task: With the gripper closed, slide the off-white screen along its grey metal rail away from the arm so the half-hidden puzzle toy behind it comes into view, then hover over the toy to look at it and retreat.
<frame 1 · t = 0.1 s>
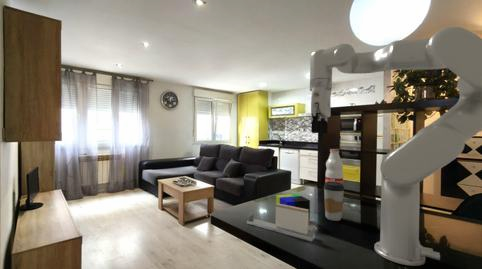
hand: (319, 133, 82), 37 cm above the table, tool pointing down, fingers open, 9 cm apart
screen: (291, 218, 82), point 6 cm above the table, slide at 0.0 cm
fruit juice: (333, 198, 130), on the table
puzzle toy: (292, 222, 94), on the table
coffee cup: (333, 218, 98), on the table
rail: (278, 230, 85), on the table
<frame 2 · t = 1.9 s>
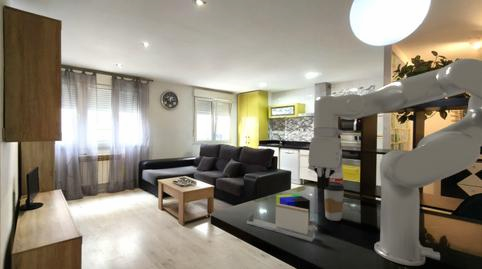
hand: (324, 188, 76), 18 cm above the table, tool pointing down, fingers closed
nothing on the table moved.
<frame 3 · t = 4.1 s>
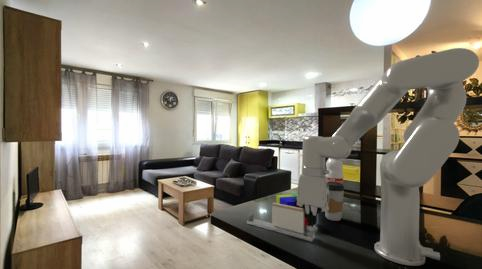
hand: (311, 225, 78), 5 cm above the table, tool pointing down, fingers closed
screen: (287, 217, 83), point 6 cm above the table, slide at 1.5 cm, touching gripper
everything else where it was.
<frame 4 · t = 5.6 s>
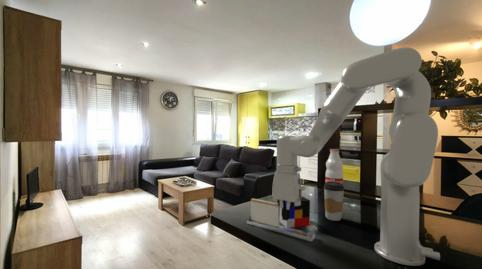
hand: (286, 219, 83), 5 cm above the table, tool pointing down, fingers closed
screen: (264, 211, 88), point 6 cm above the table, slide at 10.9 cm, touching gripper
everything else where it was.
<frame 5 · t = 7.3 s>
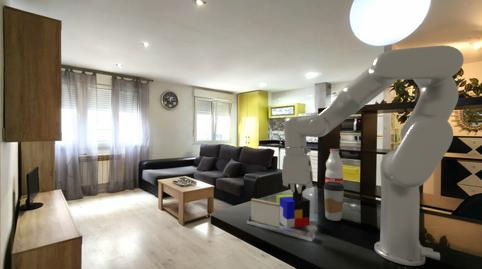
hand: (298, 203, 81), 11 cm above the table, tool pointing down, fingers closed
screen: (265, 212, 88), point 6 cm above the table, slide at 10.8 cm
everything else where it was.
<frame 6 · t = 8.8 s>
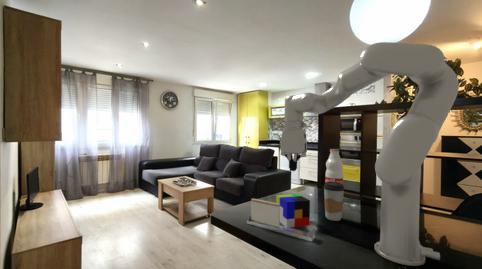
hand: (292, 170, 94), 21 cm above the table, tool pointing down, fingers closed
nothing on the table moved.
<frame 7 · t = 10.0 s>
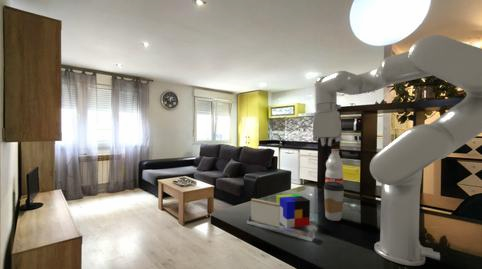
hand: (327, 156, 88), 28 cm above the table, tool pointing down, fingers closed
nothing on the table moved.
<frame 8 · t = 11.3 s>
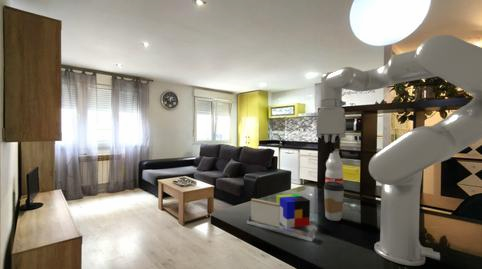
hand: (330, 152, 88), 29 cm above the table, tool pointing down, fingers closed
nothing on the table moved.
at the end: screen slide at 10.8 cm; puzzle toy moved 0.3 cm from its start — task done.
